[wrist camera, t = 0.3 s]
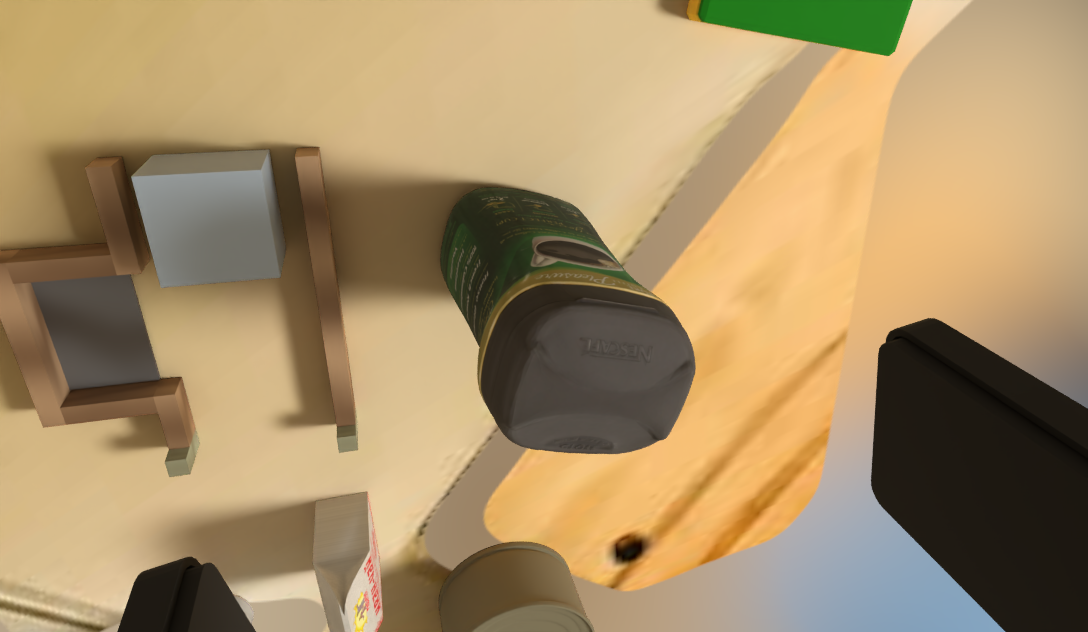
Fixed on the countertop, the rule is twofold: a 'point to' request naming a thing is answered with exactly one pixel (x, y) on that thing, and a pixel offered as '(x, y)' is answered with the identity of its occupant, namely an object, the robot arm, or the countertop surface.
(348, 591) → the light grey upright block
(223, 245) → the slate block
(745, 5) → the dish sponge
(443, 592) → the can
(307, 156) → the brown wooden open frame
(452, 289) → the coffee jar
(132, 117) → the countertop surface
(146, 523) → the countertop surface
